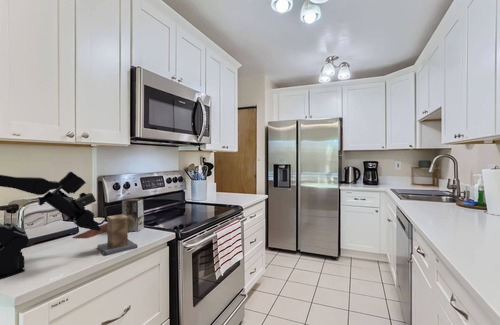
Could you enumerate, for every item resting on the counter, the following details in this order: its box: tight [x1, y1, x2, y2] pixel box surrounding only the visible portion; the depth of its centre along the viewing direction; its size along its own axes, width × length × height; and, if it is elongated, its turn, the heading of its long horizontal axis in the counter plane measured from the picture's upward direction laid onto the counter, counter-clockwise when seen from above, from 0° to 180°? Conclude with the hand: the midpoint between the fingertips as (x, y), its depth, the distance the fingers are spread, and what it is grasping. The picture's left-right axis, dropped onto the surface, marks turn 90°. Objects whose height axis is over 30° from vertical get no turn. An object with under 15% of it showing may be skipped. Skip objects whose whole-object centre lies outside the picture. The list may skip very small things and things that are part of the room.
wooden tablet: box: [72, 223, 107, 240], centre depth 132 cm, size 27×10×2 cm, turn 172°
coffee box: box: [121, 198, 145, 232], centre depth 135 cm, size 9×6×16 cm
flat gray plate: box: [97, 239, 138, 256], centre depth 107 cm, size 12×12×3 cm
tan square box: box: [106, 213, 129, 249], centre depth 107 cm, size 6×6×12 cm
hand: (96, 227), depth 101 cm, fingers open, 9 cm apart
